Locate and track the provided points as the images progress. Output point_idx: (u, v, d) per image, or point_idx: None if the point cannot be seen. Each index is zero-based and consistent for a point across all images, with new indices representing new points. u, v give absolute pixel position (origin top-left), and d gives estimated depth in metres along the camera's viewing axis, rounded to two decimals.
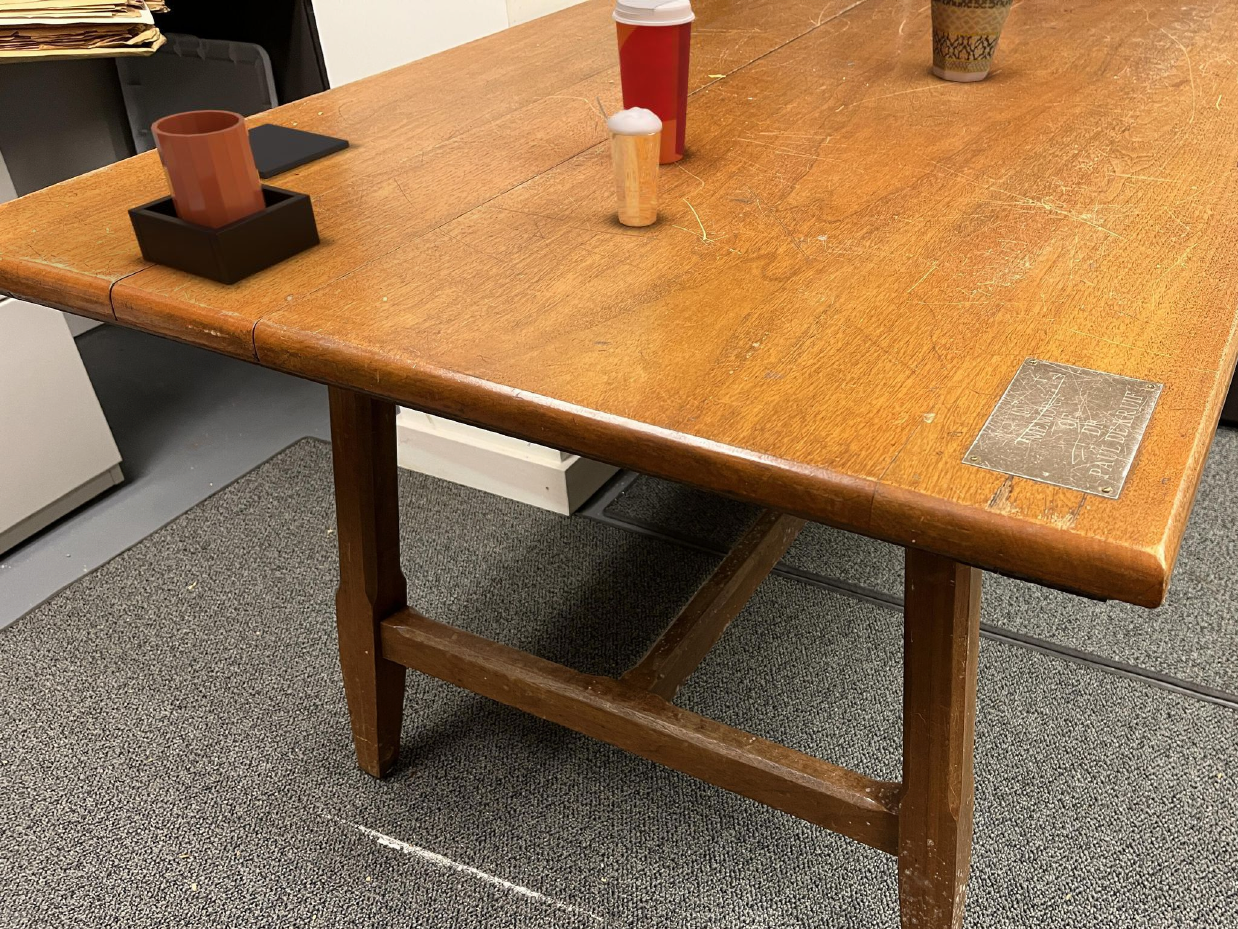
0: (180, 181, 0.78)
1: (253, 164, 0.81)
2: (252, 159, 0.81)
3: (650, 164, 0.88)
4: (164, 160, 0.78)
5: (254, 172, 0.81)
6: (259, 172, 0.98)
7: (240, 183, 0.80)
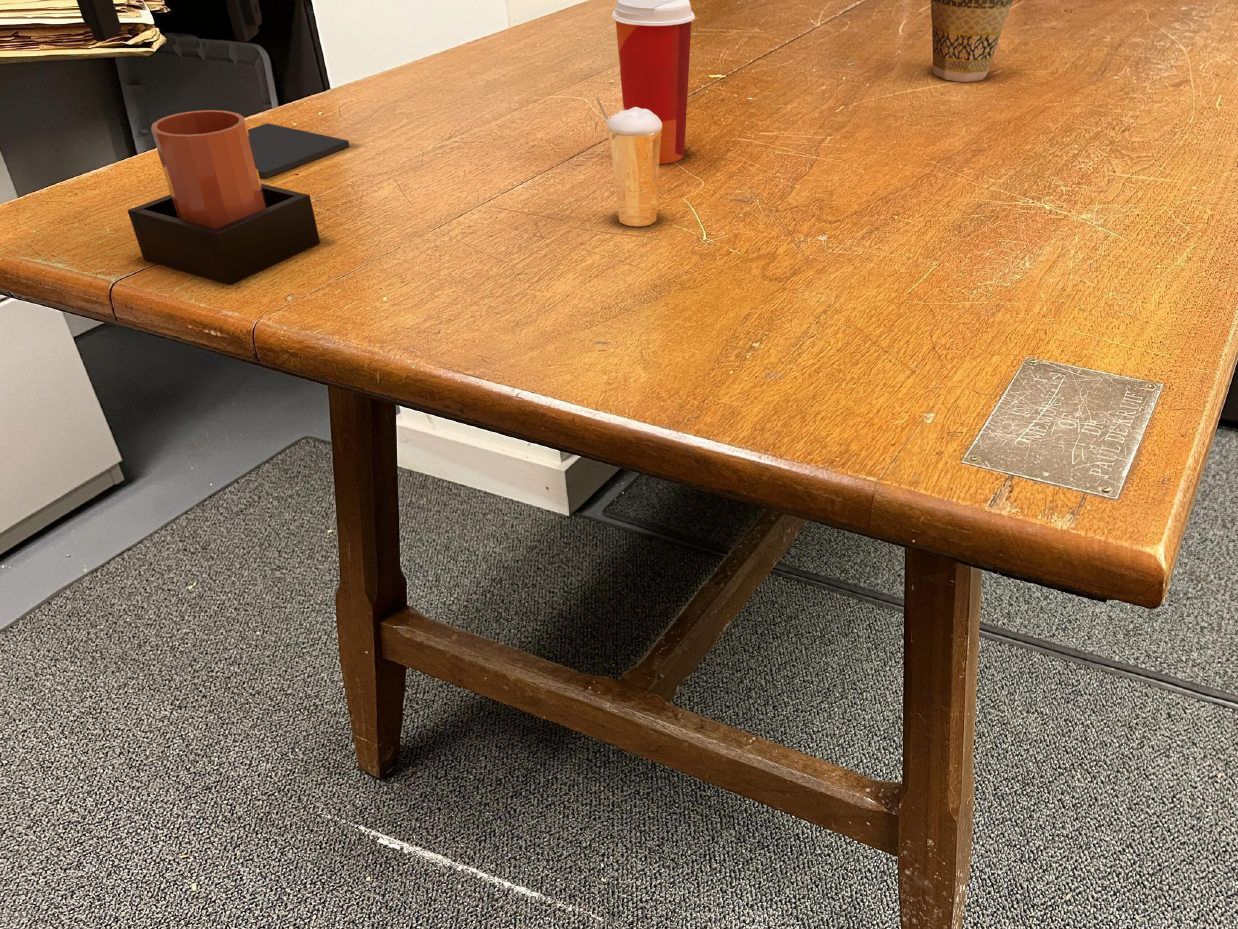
0: (180, 181, 0.78)
1: (253, 164, 0.81)
2: (252, 159, 0.81)
3: (650, 164, 0.88)
4: (164, 160, 0.78)
5: (254, 172, 0.81)
6: (259, 172, 0.98)
7: (240, 183, 0.80)
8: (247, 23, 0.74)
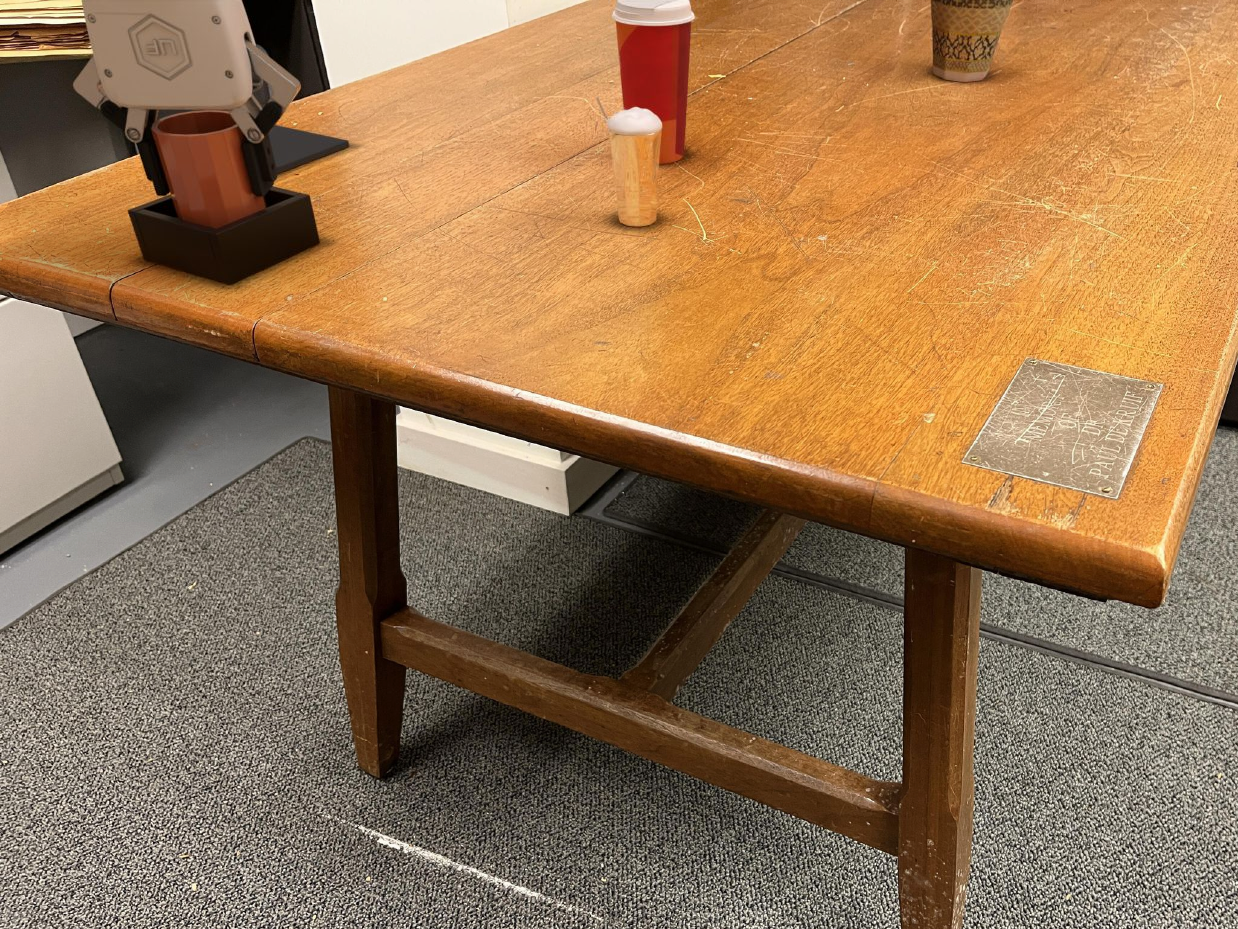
0: (180, 181, 0.78)
1: None
2: None
3: (650, 164, 0.88)
4: (164, 160, 0.78)
5: None
6: None
7: (240, 183, 0.80)
8: (264, 180, 0.81)
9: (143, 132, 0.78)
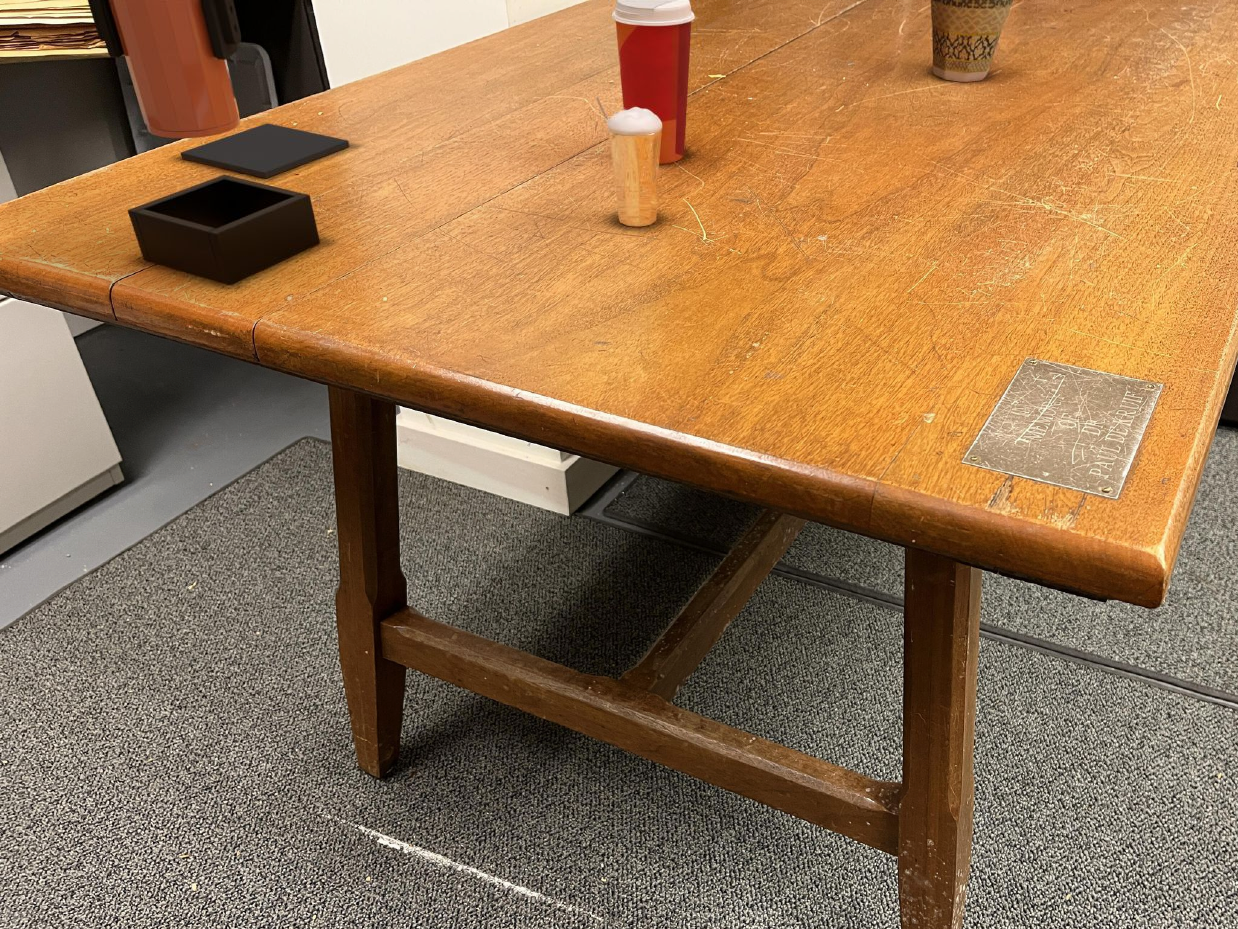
0: (134, 37, 0.72)
1: None
2: None
3: (650, 164, 0.88)
4: (116, 14, 0.72)
5: None
6: (259, 172, 0.98)
7: (200, 43, 0.74)
8: (226, 41, 0.75)
9: None
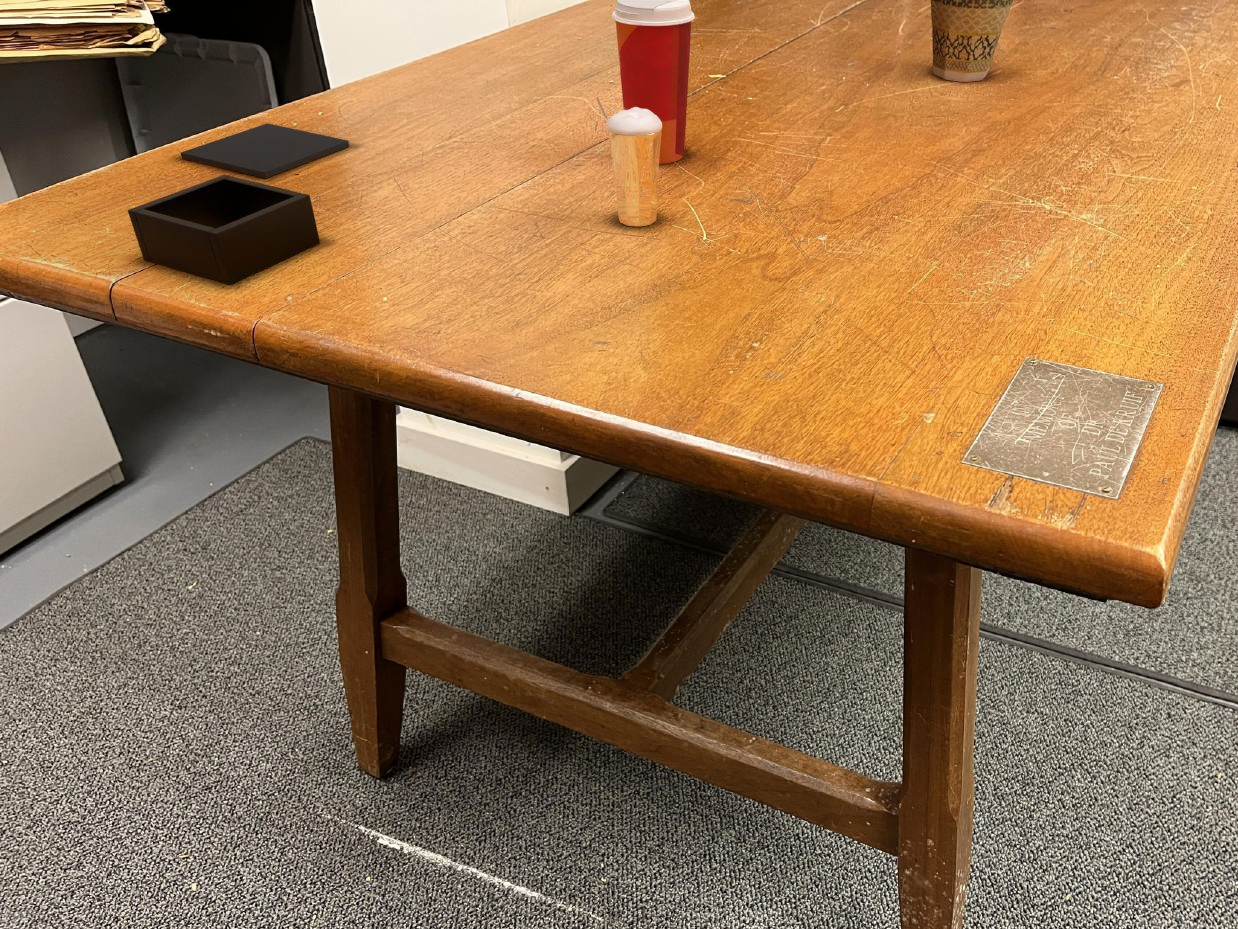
0: None
1: None
2: None
3: (650, 164, 0.88)
4: None
5: None
6: (259, 172, 0.98)
7: None
8: None
9: None
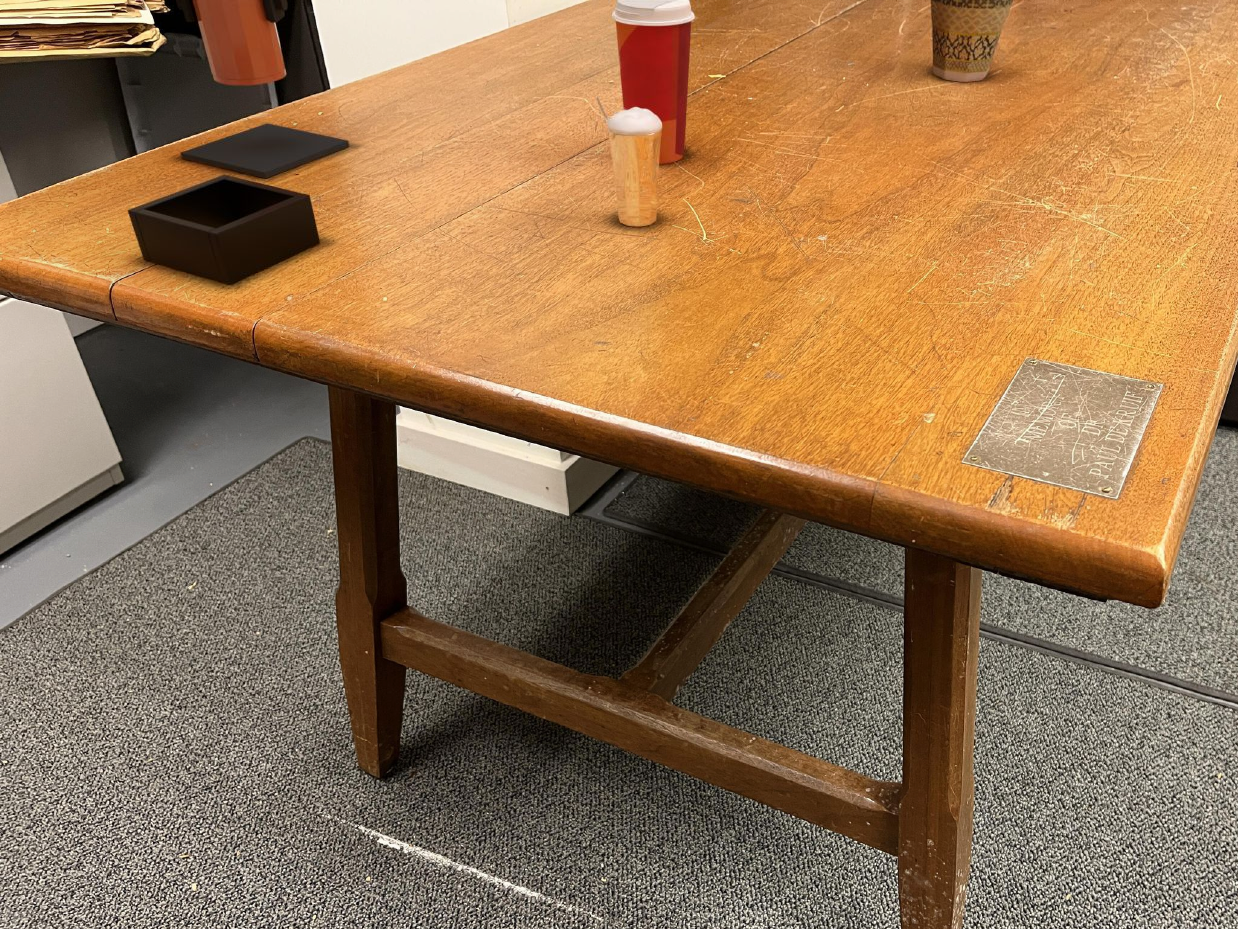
0: (206, 5, 0.93)
1: None
2: None
3: (650, 164, 0.88)
4: None
5: None
6: (259, 172, 0.98)
7: (256, 9, 0.94)
8: (276, 8, 0.96)
9: None
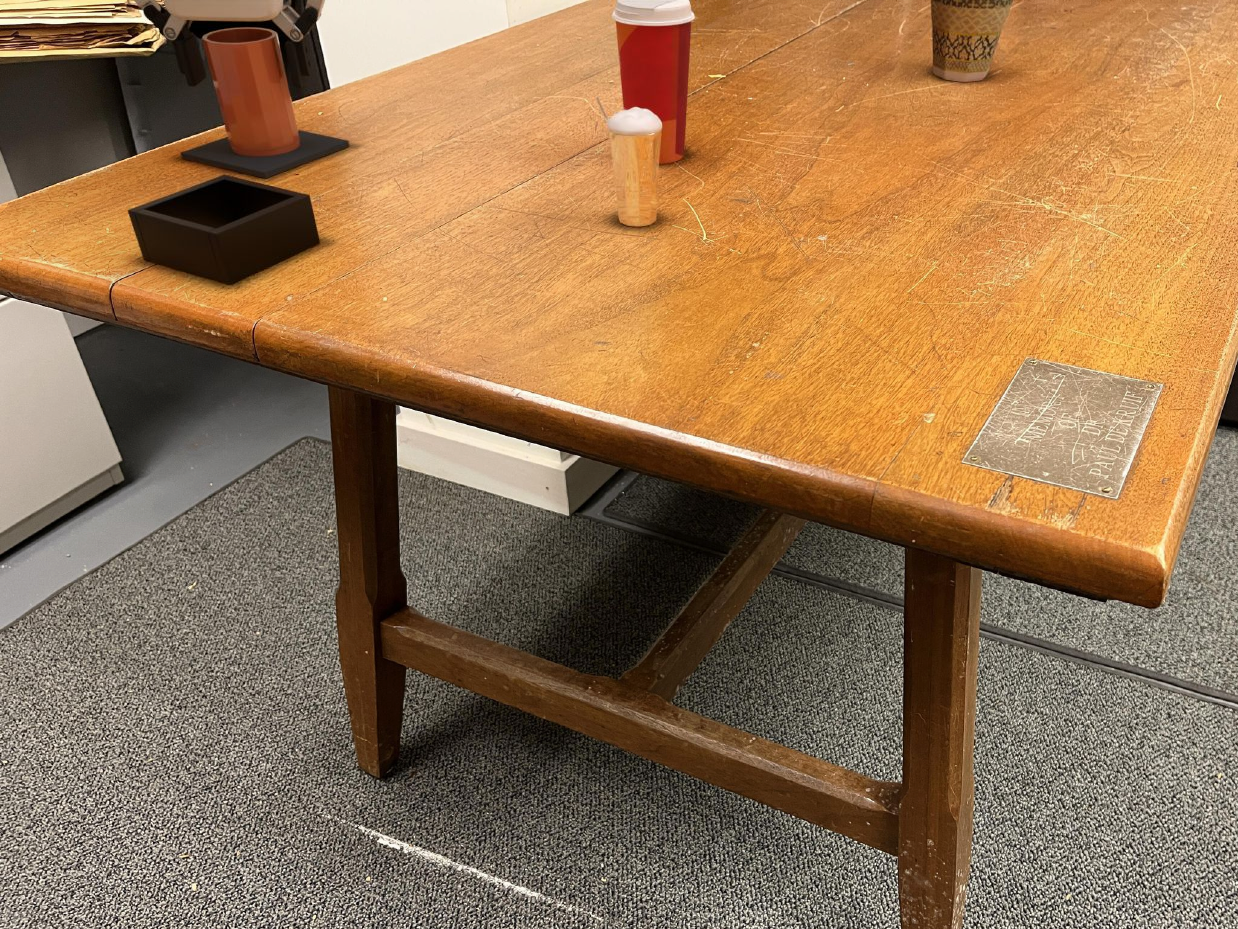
0: (225, 82, 0.97)
1: (283, 71, 0.99)
2: (282, 67, 0.99)
3: (650, 164, 0.88)
4: (212, 65, 0.97)
5: (284, 78, 1.00)
6: (259, 172, 0.98)
7: (273, 85, 0.98)
8: (302, 74, 0.99)
9: (178, 31, 0.96)
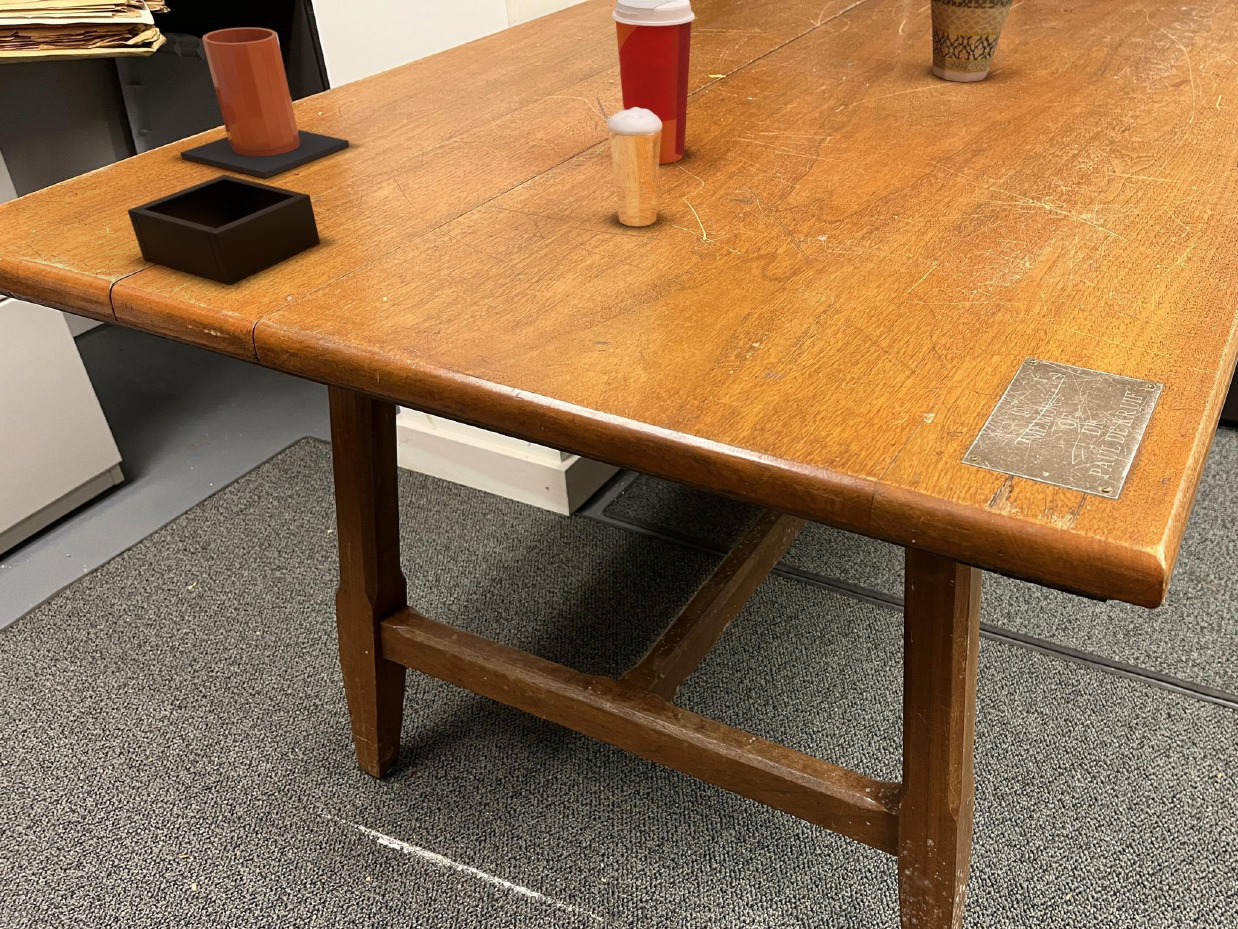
0: (225, 82, 0.97)
1: (283, 71, 0.99)
2: (282, 67, 0.99)
3: (650, 164, 0.88)
4: (212, 65, 0.97)
5: (284, 78, 1.00)
6: (259, 172, 0.98)
7: (273, 85, 0.98)
8: None
9: None
